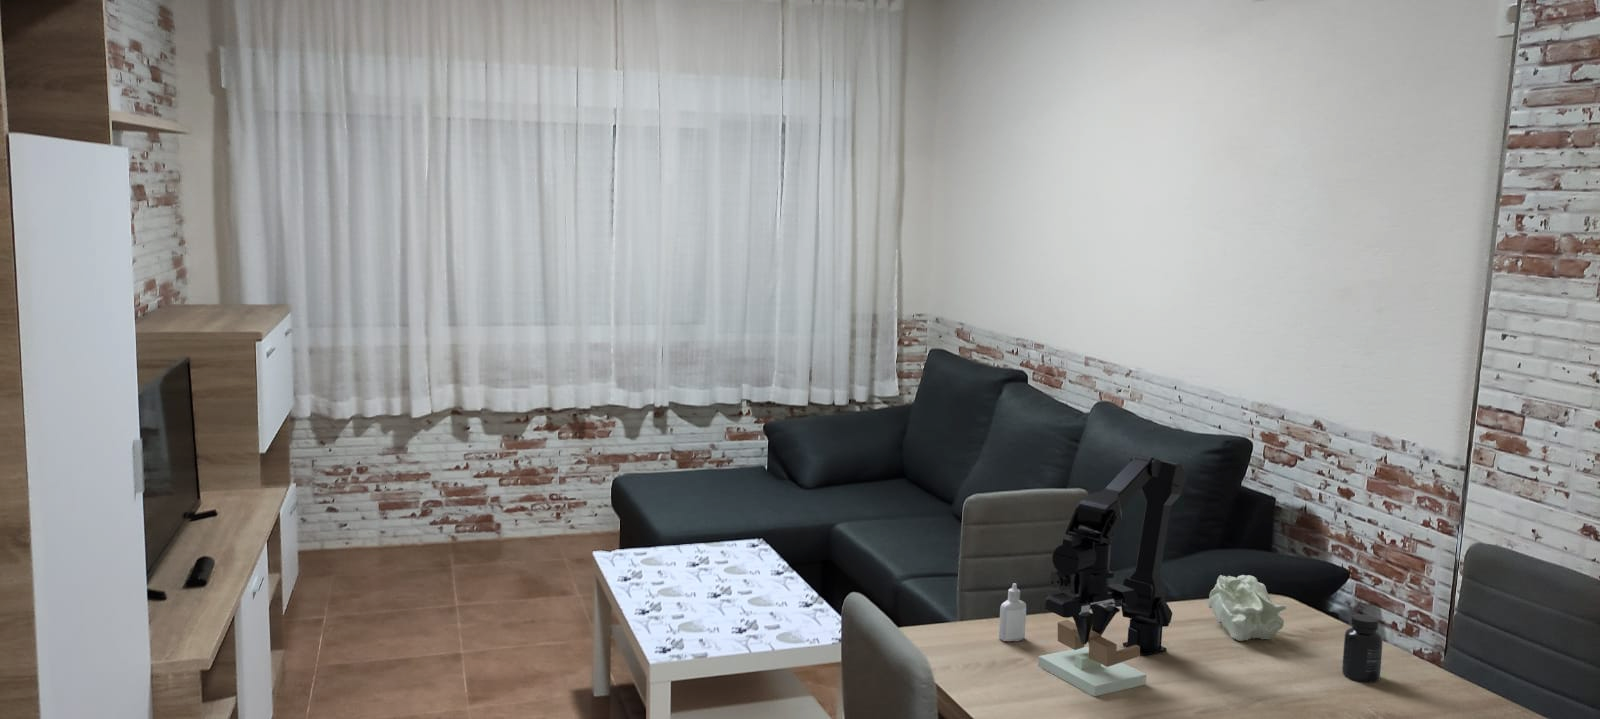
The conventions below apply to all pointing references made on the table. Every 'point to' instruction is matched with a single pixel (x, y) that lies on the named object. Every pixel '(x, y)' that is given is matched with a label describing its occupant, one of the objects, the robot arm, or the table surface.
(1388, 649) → the table surface
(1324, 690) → the table surface
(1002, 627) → the eye dropper bottle
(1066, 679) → the stand
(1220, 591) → the folded clay sculpture
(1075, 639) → the brown c-shaped bracket
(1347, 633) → the supplement bottle
